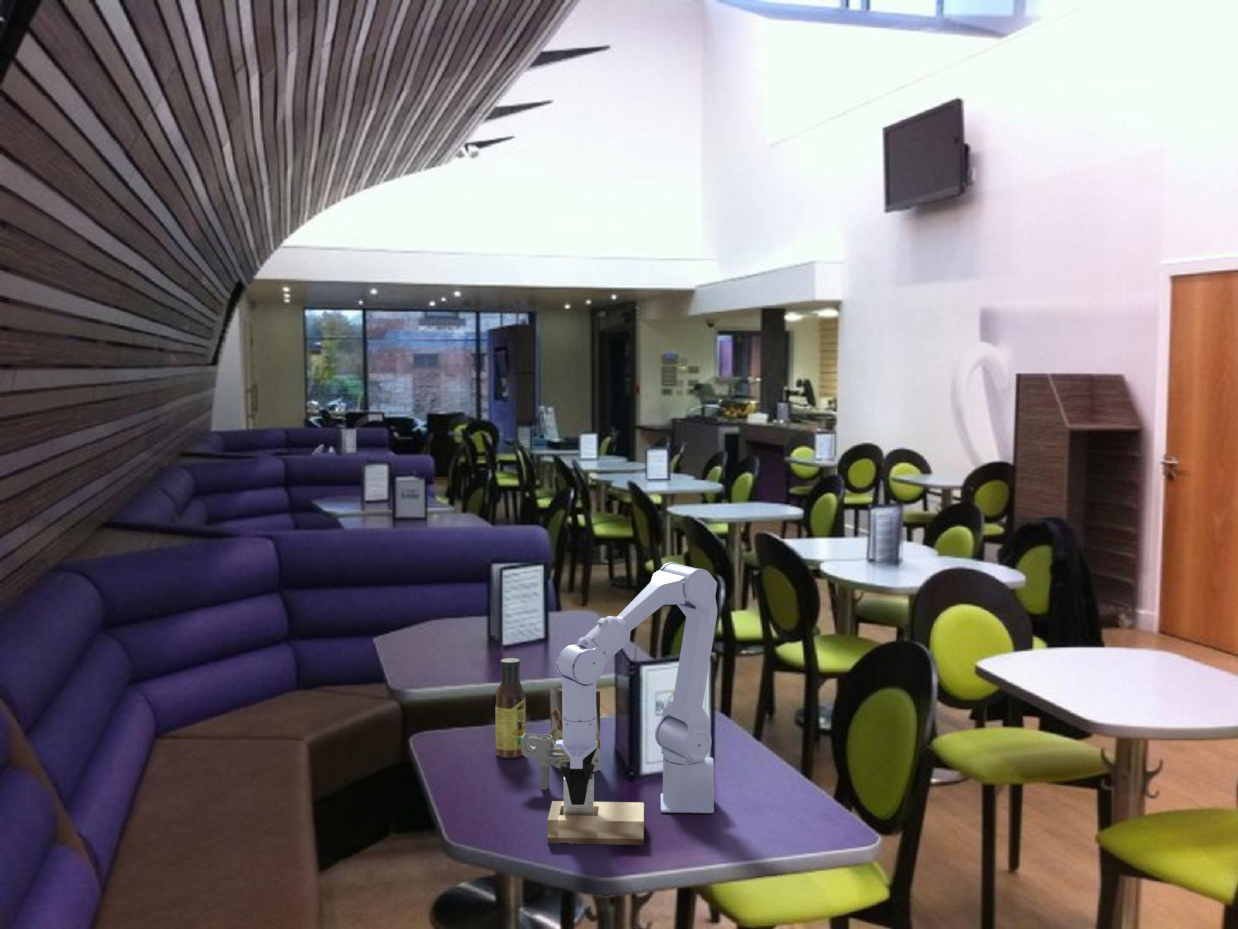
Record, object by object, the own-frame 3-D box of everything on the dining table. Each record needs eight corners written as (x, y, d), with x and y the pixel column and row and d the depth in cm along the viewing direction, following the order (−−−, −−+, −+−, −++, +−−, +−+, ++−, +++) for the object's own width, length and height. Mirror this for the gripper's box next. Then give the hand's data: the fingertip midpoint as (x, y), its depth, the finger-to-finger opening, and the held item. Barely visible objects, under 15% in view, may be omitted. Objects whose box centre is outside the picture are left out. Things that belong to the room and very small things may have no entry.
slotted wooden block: (643, 825, 180) (643, 802, 179) (643, 845, 172) (643, 821, 171) (552, 823, 180) (552, 801, 180) (547, 843, 172) (547, 820, 172)
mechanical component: (568, 793, 194) (568, 741, 193) (516, 789, 196) (516, 737, 195) (572, 787, 197) (572, 736, 196) (521, 783, 199) (521, 732, 198)
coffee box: (602, 770, 206) (602, 691, 204) (576, 778, 201) (576, 697, 200) (573, 758, 213) (573, 681, 211) (548, 765, 208) (548, 687, 207)
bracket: (593, 825, 177) (593, 774, 176) (593, 831, 175) (593, 779, 174) (564, 824, 177) (564, 773, 177) (563, 830, 175) (563, 779, 174)
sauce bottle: (523, 760, 211) (523, 664, 210) (493, 760, 211) (493, 664, 210) (527, 749, 218) (527, 656, 216) (497, 749, 218) (497, 656, 216)
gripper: (559, 703, 182) (559, 778, 183) (551, 730, 167) (551, 812, 168) (599, 704, 182) (599, 779, 183) (594, 731, 167) (595, 812, 168)
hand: (579, 795), depth 176 cm, fingers open, 7 cm apart
